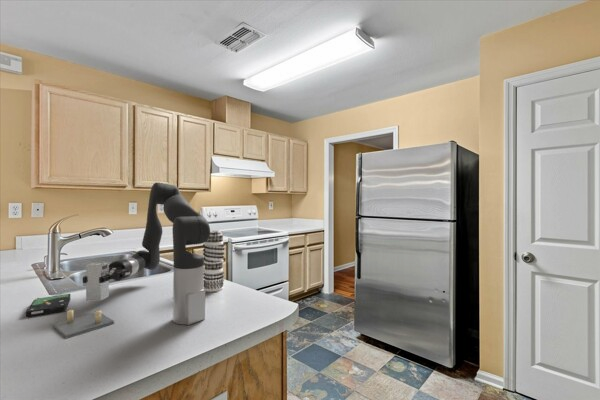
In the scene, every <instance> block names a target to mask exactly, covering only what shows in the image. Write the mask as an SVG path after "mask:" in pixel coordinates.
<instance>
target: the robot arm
mask: <svg viewBox="0 0 600 400" xmlns="http://www.w3.org/2000/svg"><path fill="white" fill-rule="evenodd" d="M158 205H160V206H161V205H162V206H163V207H162V209H163V213H164V215H165V216H166V218H167V219H168V221H170V222H171V223H172V243H173V244H172V245H173V248H172V249H173V250H172V254H173V255H172V256H173V276H172V277H173V279H172V280H173V283H172V284H173V285H172V286H173V289H172V290H173V291H172V292H173V293H172V295H173V296H172V322H173V323H174V324H177V325H187V326H190V325H193V324H195V323H198V322H200V321H203V320H205V319H206V291H205V290H204V280H205V279H204V276H205V275H204V268H205V263H204V255H201V254H198V253H193V252H191V251H188V250H187V247H186V246H193V245H201V244H202V245H203V244H204V243H205V242H206V241H207V240H208V239H209V236H210V231H211V227H210V225H209V222H208V220H207V219H206V217H204V215H202V214H200V213H199V212H198V211H197V210H195V209H194V208H193V207H192V206H191V204H190V203H189V201H187V199H186V198H184V196H183V195H182V193H181V191H180V188H178V187H177V186H176V185H174V184H168V183H163V182H154V183H153V185H152V186H151V189H150V193H149V198H148V207H147V214H146V225H145V231H144V234H143V238H142V241H141V246H142V247H143V249H145V250H137V252H135V254H134V255H132V256H129V257H124V258H120V259H117V260H114V261H112V262H110V263H109V274H106V275H103V276H100V277H99V283H104V282H106V281H109V282H111V281H114V282H115V281H116V282H117V281H118V282H119V281H121V280H125V279H127V278H129V277H132V276H133V275H134V274H136V273H139V272H141V271H142V270H144V269H147V270H150V271H153V270H155V269H156V268H157V267H158V266H159V264H160V259H161V256H160V253H161V252H160V243H161V240H162V235H163V226H162V223H161V221H160V219H159V217H158V213H157V207H158ZM82 283H83V284H86V275H84V276H83V277H82Z"/></svg>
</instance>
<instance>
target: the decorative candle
mask: <svg viewBox="0 0 600 400" xmlns="http://www.w3.org/2000/svg"><path fill="white" fill-rule="evenodd" d="M225 246H226V244H224V234H223V233H222V231H220V230H218V229H216V230H213V229H212V230H210V236H209V239H208V240H207V241H206V242H205V243H202V247H203V250H202V252H203V253H202V256H203V258H204V290H205V292H219V291H222V290H223V289H224V281H225V280H224V276H225V275H224V267H223V266H224V265H223V263H224V258H225V256H224V255H225V252H223V251H224V250H225V249H226V248H225Z"/></svg>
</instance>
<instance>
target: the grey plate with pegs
mask: <svg viewBox="0 0 600 400" xmlns="http://www.w3.org/2000/svg"><path fill="white" fill-rule="evenodd" d="M113 324H115V320H113V319H112V318H110V317H109V316H107V315H105V314H103V313H102V310H101V309H100V310H96V311H94V312H93V313H88V314H86V315H82V316H78V317H74V309H70V310H66V320H64V321H63V320H62V321H59V322H56V323H53V324H52V327H53V328H54V329H55V330H56V331H57V332H58V333H60V334H61V335H62V336H63V337H65V339H68V338H71V337H75V336H78V335H82V334H85V333H88V332H91V331H95V330H97V329H98V330H99V329H100V328H104V327H107V326H110V325H113Z"/></svg>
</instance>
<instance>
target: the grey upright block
mask: <svg viewBox="0 0 600 400" xmlns="http://www.w3.org/2000/svg"><path fill="white" fill-rule="evenodd" d="M109 265H110V263H109V262H92V263H89V264H88V263H87V264H86V265H85V276H86V283H85V297H86V298H85V301H86V302H87V301H89V302H90V301H92V302H93V301H97V302H98V301H99V302H100V301H103V300H106V299H107V298H109V297H110V292H109V289H110V286H109V285H110V284H109V283H110V281H106V282H104V283H99V277H100V276H103V275H106V274H109Z"/></svg>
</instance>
